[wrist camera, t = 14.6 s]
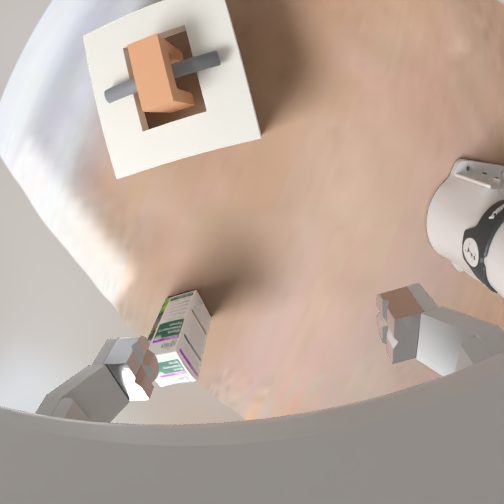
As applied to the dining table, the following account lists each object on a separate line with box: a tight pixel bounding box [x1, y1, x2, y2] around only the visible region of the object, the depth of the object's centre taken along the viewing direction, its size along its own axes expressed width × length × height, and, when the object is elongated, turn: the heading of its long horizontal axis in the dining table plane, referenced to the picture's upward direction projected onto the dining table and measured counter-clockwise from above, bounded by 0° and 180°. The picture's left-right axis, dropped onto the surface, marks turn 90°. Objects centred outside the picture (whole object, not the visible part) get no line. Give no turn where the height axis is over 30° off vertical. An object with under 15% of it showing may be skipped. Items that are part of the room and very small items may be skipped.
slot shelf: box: [83, 0, 261, 179], centre depth 31 cm, size 16×18×12 cm
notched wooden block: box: [127, 33, 195, 113], centre depth 28 cm, size 3×7×10 cm, turn 13°
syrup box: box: [147, 290, 211, 387], centre depth 43 cm, size 6×6×14 cm
